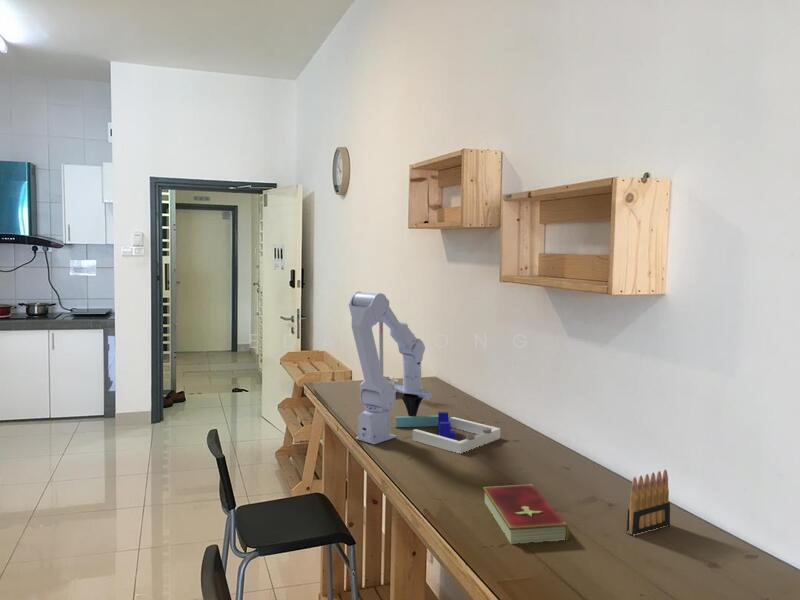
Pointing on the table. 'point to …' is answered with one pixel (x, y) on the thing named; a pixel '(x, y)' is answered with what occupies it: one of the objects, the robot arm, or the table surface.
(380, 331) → the flag stand
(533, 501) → the hardcover book
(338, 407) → the table surface
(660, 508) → the ammunition clip
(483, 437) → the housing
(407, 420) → the gate
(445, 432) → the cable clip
